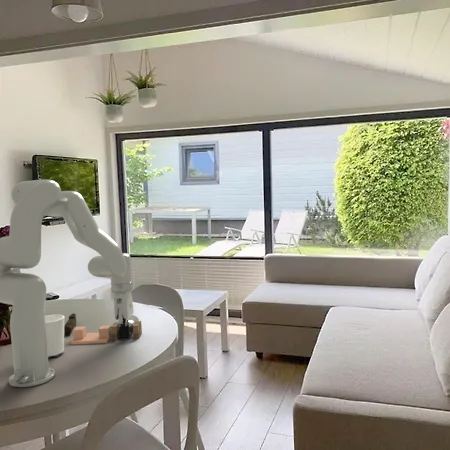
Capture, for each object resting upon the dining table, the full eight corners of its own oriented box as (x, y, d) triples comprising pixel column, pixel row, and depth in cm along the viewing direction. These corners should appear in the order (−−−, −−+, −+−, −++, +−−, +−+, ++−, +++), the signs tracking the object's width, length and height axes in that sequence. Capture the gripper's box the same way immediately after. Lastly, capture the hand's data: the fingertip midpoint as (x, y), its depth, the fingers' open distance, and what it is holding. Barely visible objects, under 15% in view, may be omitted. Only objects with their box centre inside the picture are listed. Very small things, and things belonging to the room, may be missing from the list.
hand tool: (71, 336, 177) (70, 324, 176) (60, 337, 176) (59, 325, 176) (81, 322, 195) (80, 311, 195) (72, 323, 195) (71, 312, 195)
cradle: (106, 343, 166) (105, 331, 165) (71, 344, 166) (70, 332, 165) (113, 334, 176) (112, 322, 175) (80, 335, 176) (79, 324, 175)
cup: (37, 352, 159) (34, 316, 158) (66, 348, 162) (64, 312, 161) (36, 362, 150) (32, 324, 149) (67, 357, 153) (64, 319, 152)
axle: (132, 336, 171) (131, 323, 171) (119, 337, 171) (118, 324, 171) (139, 327, 183) (138, 315, 183) (127, 328, 183) (126, 315, 183)
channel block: (138, 338, 169) (138, 325, 169) (111, 339, 169) (111, 326, 169) (141, 333, 175) (141, 320, 174) (116, 334, 175) (115, 321, 175)
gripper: (127, 291, 160) (130, 342, 161) (136, 282, 175) (139, 329, 176) (106, 292, 160) (109, 343, 161) (116, 283, 175) (119, 330, 176)
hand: (124, 336), depth 169 cm, fingers closed
